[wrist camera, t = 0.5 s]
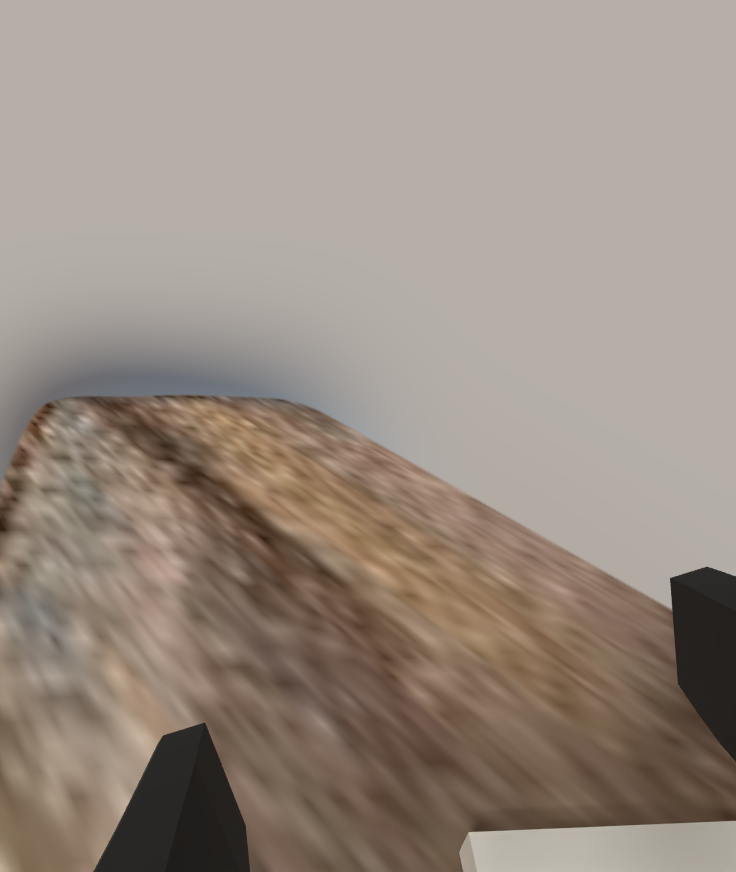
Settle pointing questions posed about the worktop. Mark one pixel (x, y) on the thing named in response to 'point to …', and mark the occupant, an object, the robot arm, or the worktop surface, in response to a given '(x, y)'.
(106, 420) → the worktop surface
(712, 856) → the plate
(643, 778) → the worktop surface
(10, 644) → the worktop surface
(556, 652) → the worktop surface
